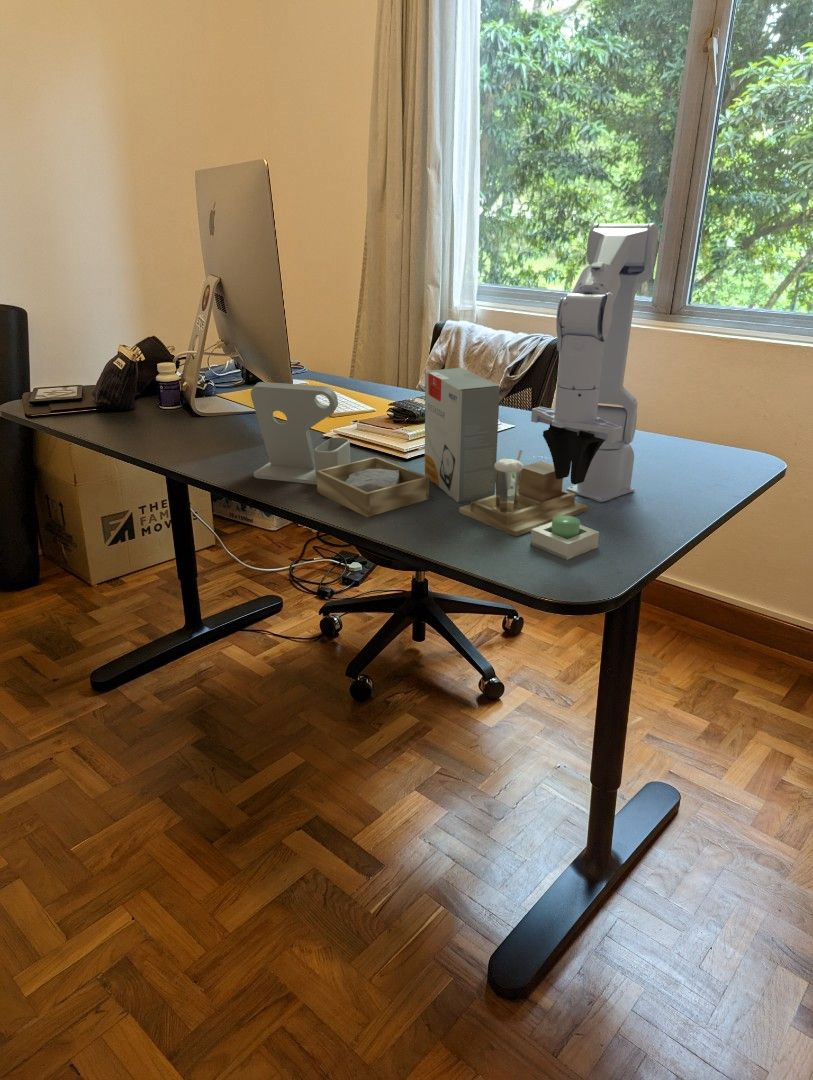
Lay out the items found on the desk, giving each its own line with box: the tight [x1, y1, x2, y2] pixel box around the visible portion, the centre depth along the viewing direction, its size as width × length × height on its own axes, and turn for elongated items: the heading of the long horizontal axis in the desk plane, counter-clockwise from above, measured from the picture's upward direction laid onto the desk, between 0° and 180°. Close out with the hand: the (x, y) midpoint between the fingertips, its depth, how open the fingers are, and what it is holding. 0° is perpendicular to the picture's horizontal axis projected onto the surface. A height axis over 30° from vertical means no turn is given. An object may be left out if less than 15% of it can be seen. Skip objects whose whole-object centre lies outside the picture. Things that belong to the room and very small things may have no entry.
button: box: [551, 516, 581, 539], centre depth 110 cm, size 4×4×2 cm
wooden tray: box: [316, 456, 430, 518], centre depth 131 cm, size 13×15×4 cm
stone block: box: [345, 469, 400, 492], centre depth 131 cm, size 12×5×10 cm
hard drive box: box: [424, 367, 501, 503], centre depth 132 cm, size 16×8×20 cm, turn 21°
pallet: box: [458, 488, 588, 537], centre depth 124 cm, size 17×13×2 cm
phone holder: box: [250, 381, 351, 485], centre depth 139 cm, size 17×10×18 cm, turn 72°
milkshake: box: [494, 449, 524, 514], centre depth 119 cm, size 4×5×10 cm
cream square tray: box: [530, 522, 600, 561], centre depth 111 cm, size 7×7×2 cm
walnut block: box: [519, 461, 564, 502], centre depth 125 cm, size 5×5×6 cm
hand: (569, 480), depth 107 cm, fingers closed
